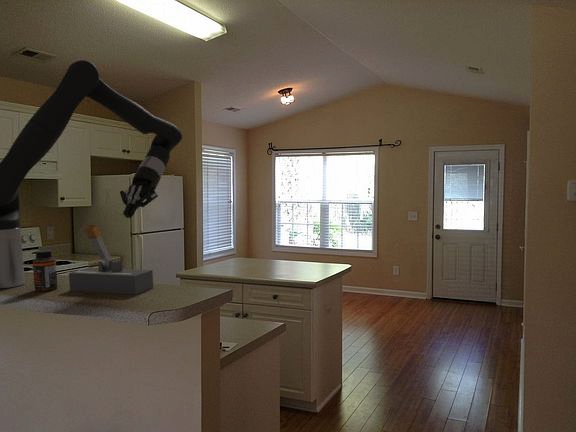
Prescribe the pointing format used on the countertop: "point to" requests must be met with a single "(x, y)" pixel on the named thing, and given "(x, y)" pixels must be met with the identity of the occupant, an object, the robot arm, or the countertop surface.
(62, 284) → the countertop surface
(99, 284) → the block
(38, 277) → the supplement bottle
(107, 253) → the lever
